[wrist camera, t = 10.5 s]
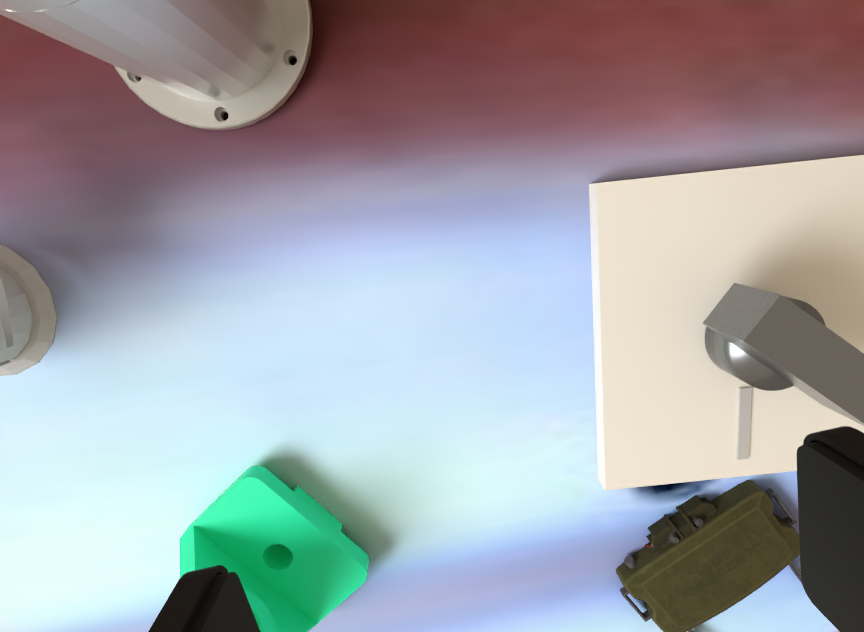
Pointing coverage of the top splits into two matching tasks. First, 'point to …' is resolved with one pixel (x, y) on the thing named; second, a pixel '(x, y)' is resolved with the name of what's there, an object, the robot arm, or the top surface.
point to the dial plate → (696, 298)
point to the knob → (785, 349)
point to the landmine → (709, 557)
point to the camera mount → (276, 551)
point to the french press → (23, 314)
